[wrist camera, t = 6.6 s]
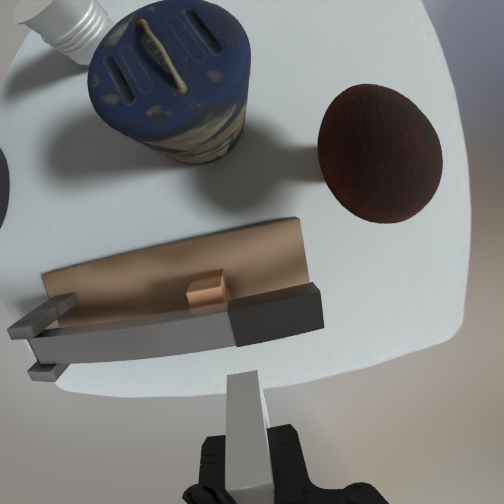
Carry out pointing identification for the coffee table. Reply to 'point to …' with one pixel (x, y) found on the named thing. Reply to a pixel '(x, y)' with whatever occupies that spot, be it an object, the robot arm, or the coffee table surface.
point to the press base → (168, 280)
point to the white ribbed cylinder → (67, 25)
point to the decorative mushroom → (379, 154)
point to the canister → (174, 79)
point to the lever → (186, 329)
